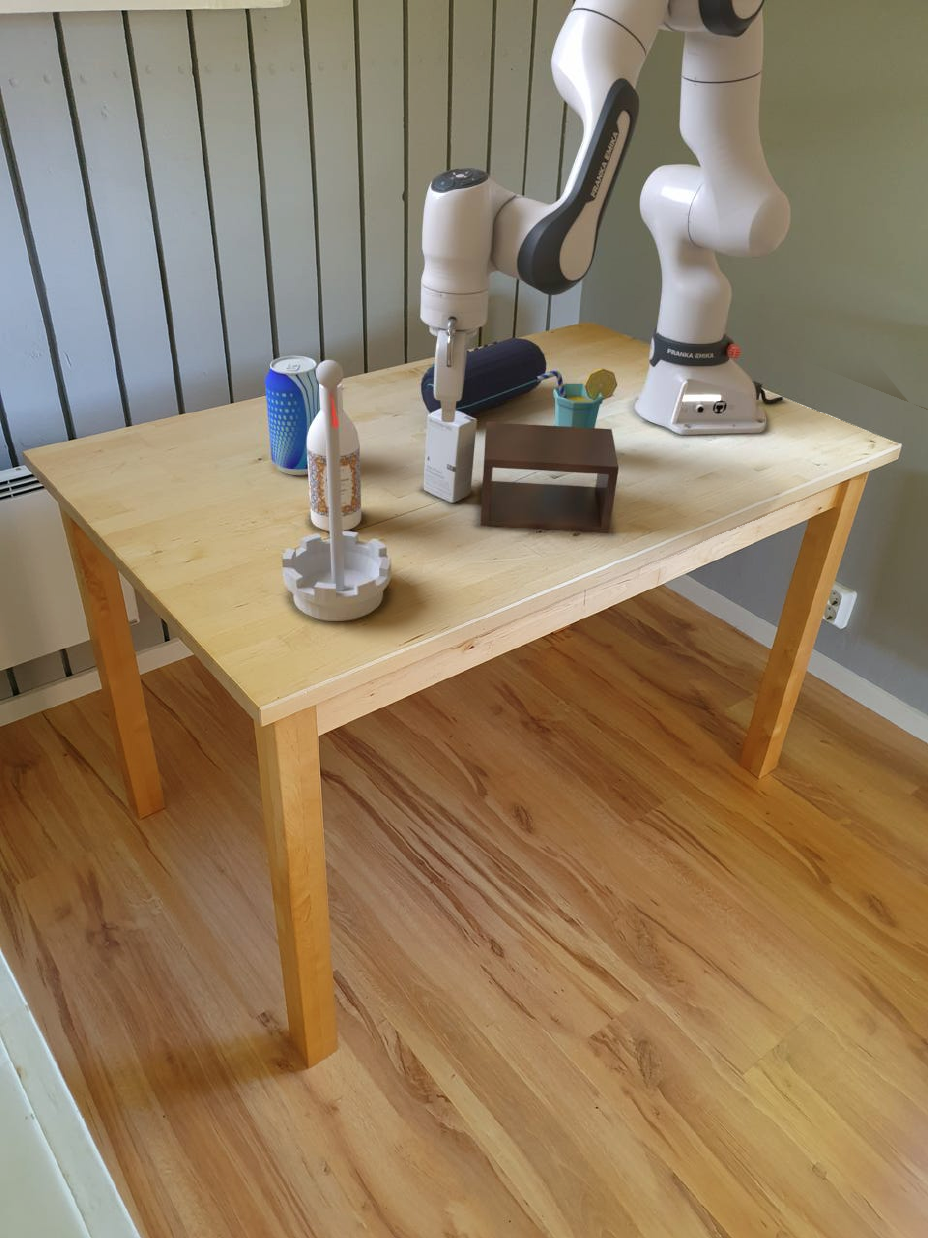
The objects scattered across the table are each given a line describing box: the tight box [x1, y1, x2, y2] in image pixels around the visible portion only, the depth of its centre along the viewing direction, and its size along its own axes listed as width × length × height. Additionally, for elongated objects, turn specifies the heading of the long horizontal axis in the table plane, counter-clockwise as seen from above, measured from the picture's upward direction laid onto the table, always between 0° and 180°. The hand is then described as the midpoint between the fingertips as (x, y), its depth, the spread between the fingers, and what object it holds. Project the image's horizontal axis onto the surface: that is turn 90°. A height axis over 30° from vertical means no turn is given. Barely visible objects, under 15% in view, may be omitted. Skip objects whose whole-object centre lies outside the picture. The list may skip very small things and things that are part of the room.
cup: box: [536, 367, 618, 428], centre depth 148 cm, size 14×8×15 cm, turn 119°
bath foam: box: [307, 382, 362, 532], centre depth 128 cm, size 7×7×20 cm
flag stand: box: [281, 359, 392, 622], centre depth 110 cm, size 13×13×30 cm
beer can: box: [264, 355, 320, 476], centre depth 142 cm, size 8×8×16 cm
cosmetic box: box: [423, 409, 478, 504], centre depth 138 cm, size 6×4×12 cm
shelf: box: [479, 421, 620, 534], centre depth 136 cm, size 18×12×10 cm, turn 87°
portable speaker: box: [420, 337, 547, 417], centre depth 164 cm, size 25×10×10 cm, turn 136°
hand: (450, 406), depth 133 cm, fingers open, 8 cm apart
